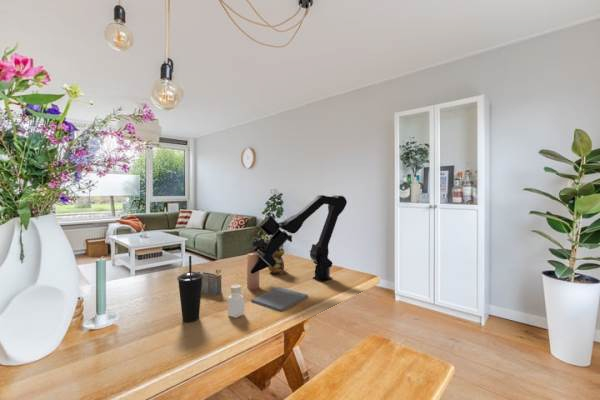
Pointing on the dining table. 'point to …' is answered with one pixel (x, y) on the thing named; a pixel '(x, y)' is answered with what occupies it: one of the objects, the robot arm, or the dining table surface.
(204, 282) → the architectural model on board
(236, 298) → the pepper shaker
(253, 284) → the wooden peg
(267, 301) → the rubber mat
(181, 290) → the drinking cup
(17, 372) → the dining table surface
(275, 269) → the decorative figurine
